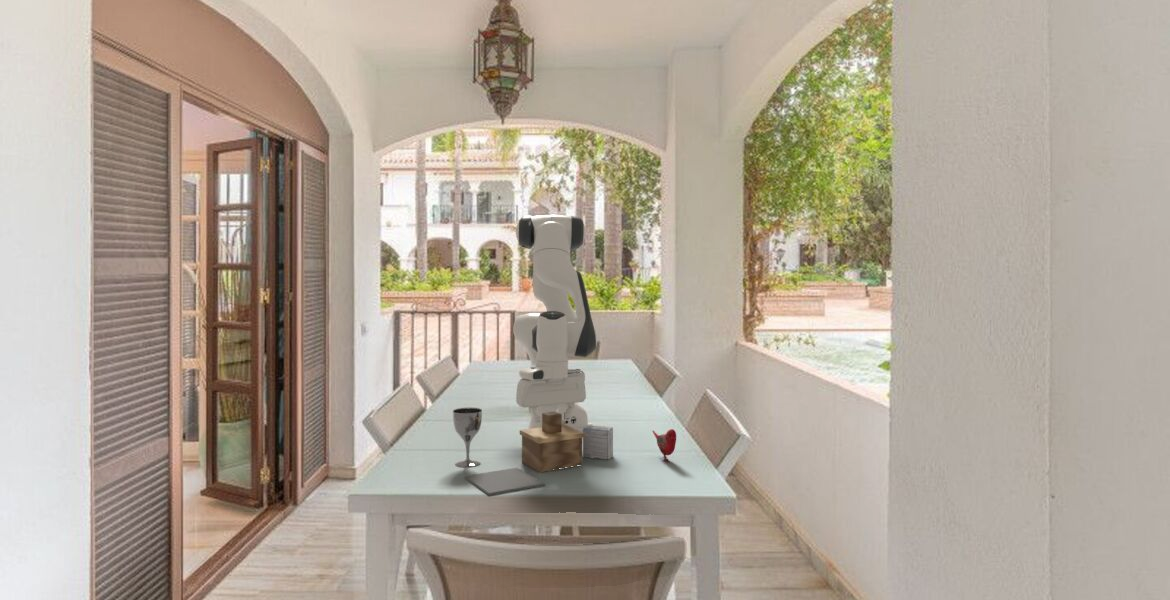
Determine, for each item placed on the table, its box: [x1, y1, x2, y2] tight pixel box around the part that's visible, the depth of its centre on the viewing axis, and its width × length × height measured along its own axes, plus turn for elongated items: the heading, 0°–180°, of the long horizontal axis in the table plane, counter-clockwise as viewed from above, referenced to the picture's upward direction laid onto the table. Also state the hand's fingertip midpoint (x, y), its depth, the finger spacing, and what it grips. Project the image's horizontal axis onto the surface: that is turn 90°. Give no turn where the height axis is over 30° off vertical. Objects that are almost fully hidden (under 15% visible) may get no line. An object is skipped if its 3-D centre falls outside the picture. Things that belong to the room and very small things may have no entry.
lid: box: [519, 412, 585, 444], centre depth 199 cm, size 14×12×7 cm
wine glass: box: [452, 407, 483, 469], centre depth 199 cm, size 8×8×15 cm
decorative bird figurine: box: [652, 428, 677, 463], centre depth 205 cm, size 3×18×10 cm, turn 15°
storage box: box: [521, 435, 583, 473], centre depth 199 cm, size 13×11×8 cm
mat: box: [464, 467, 546, 496], centre depth 183 cm, size 15×16×1 cm
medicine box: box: [582, 424, 614, 460], centre depth 207 cm, size 8×4×9 cm, turn 71°
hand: (551, 420), depth 198 cm, fingers open, 8 cm apart
